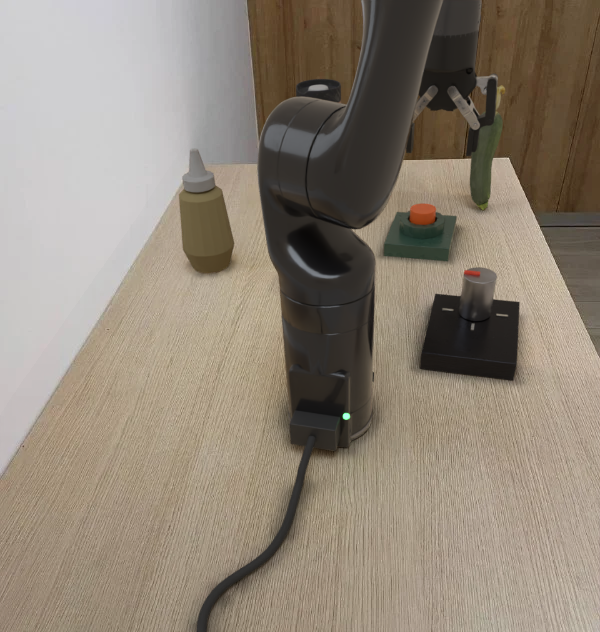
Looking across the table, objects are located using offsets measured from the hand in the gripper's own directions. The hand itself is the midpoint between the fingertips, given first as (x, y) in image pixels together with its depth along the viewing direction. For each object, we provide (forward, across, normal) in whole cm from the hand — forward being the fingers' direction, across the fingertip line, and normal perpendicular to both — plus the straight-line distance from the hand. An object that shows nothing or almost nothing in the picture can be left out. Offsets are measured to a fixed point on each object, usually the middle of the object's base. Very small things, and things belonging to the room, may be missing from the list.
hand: (439, 152), depth 93 cm
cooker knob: (+12, +9, -22) cm, 27 cm away
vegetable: (+15, +6, +16) cm, 23 cm away
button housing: (+15, -2, +1) cm, 15 cm away
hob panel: (+14, +9, -25) cm, 30 cm away
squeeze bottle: (+15, -33, -13) cm, 38 cm away
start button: (+11, -2, +1) cm, 12 cm away
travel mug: (+15, -22, +14) cm, 30 cm away
